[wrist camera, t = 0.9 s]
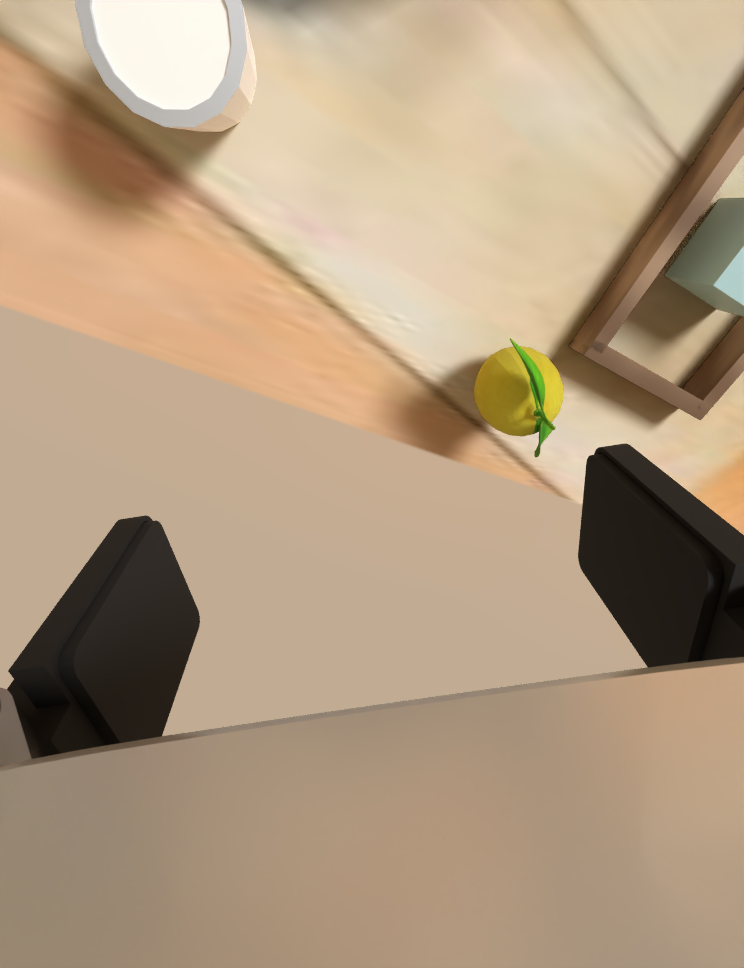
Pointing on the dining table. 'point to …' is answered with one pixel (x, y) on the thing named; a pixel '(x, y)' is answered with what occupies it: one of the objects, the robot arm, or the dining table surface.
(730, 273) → the teal cube
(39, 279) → the dining table surface
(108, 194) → the dining table surface
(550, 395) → the lemon
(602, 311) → the frame
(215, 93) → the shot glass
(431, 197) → the dining table surface
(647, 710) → the robot arm
